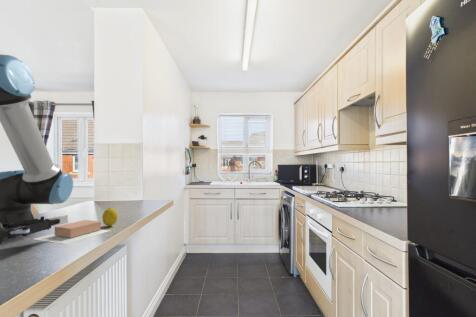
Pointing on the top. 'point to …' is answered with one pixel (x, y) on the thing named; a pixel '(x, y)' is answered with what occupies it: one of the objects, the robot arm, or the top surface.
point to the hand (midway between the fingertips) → (66, 218)
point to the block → (77, 228)
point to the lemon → (109, 217)
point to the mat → (68, 240)
